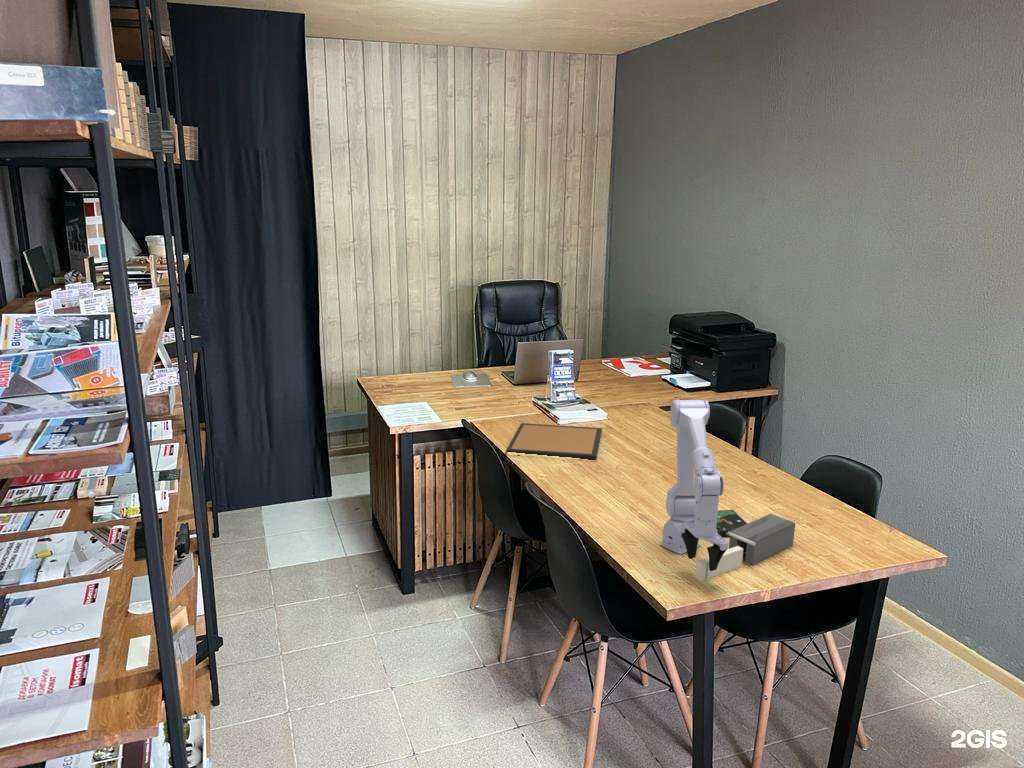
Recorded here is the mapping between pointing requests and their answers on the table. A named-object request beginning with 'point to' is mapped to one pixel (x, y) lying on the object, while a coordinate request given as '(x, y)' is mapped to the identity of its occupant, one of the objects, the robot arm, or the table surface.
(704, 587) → the table surface
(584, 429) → the cork board
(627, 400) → the table surface
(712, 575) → the cream rectangular block
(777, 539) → the dispenser
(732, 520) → the disk drive
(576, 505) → the table surface
